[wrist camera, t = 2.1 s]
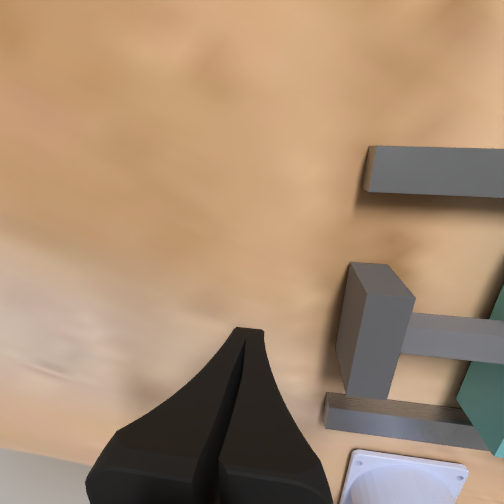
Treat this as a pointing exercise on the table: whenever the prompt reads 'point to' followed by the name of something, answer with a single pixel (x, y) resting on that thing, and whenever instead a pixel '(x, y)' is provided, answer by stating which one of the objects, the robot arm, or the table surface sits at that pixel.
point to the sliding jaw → (419, 346)
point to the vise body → (431, 183)
